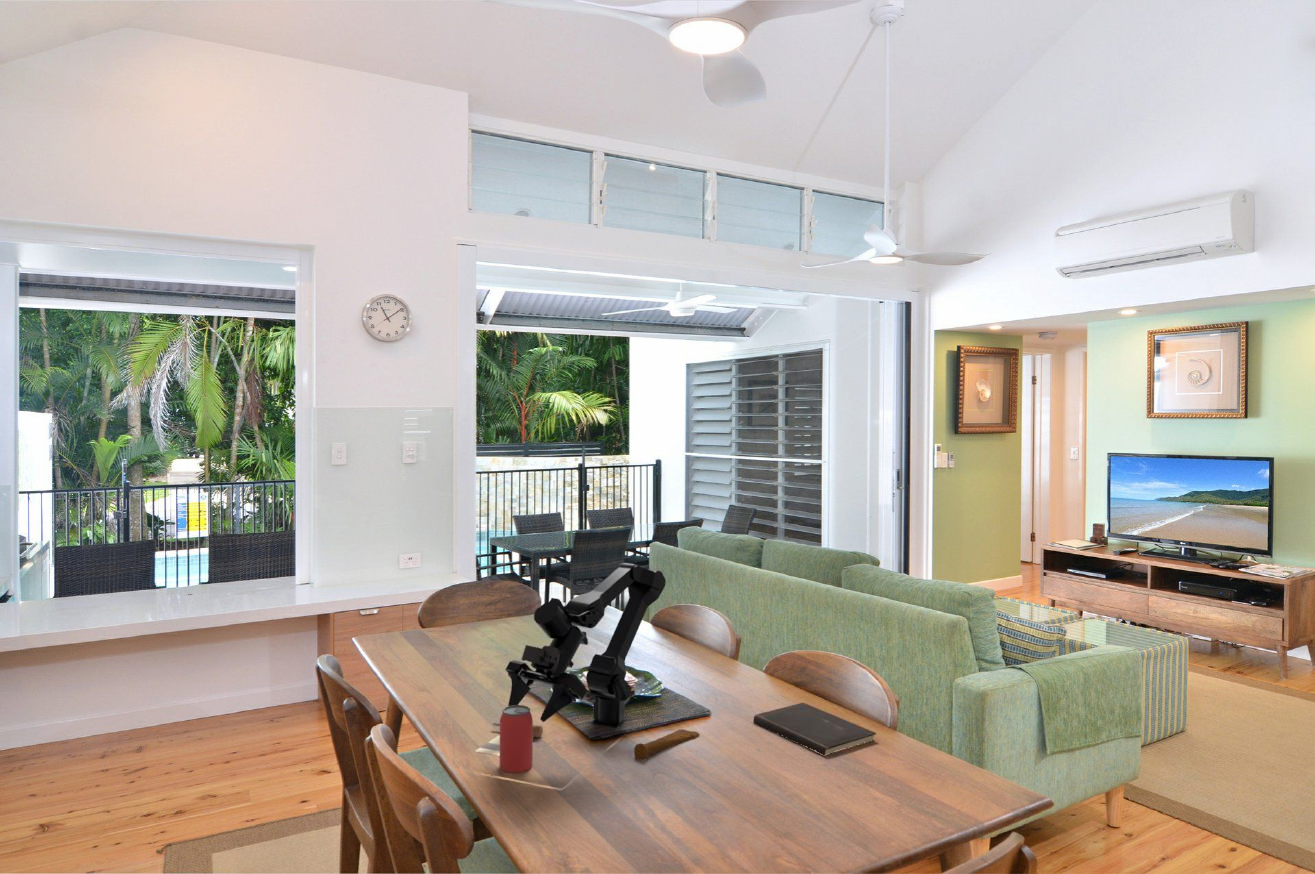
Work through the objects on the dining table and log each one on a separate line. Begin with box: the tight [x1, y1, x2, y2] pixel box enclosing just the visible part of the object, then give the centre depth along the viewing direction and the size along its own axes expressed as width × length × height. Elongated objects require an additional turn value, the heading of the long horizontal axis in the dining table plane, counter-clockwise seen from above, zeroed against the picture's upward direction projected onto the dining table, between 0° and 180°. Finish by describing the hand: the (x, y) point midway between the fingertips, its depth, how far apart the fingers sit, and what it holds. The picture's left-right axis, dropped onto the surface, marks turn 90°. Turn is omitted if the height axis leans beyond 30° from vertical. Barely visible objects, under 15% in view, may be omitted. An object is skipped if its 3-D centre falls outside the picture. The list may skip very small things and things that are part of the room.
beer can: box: [499, 704, 534, 774], centre depth 166 cm, size 7×7×12 cm
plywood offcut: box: [474, 734, 536, 757], centre depth 179 cm, size 8×15×1 cm, turn 158°
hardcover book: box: [753, 702, 877, 755], centre depth 187 cm, size 16×23×2 cm
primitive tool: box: [633, 728, 700, 761], centre depth 178 cm, size 19×6×4 cm, turn 145°
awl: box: [492, 722, 544, 738], centre depth 184 cm, size 12×2×2 cm, turn 68°
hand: (525, 715), depth 168 cm, fingers open, 9 cm apart
